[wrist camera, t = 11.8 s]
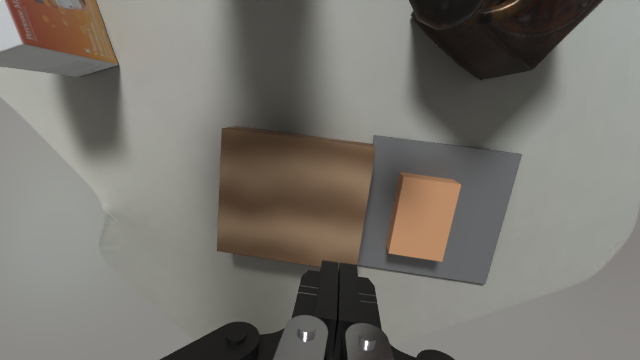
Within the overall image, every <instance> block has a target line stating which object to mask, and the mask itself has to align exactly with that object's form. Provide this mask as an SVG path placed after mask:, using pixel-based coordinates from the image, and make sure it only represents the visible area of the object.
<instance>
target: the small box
mask: <svg viewBox="0 0 640 360" xmlns="http://www.w3.org/2000/svg"><path fill="white" fill-rule="evenodd" d="M117 65H118V62H117V60H116V57H115V55H114V52H113V49H112V47H111V44H110V41H109V38H108V35H107V32H106V29H105V26H104V23H103V20H102V17H101V14H100V11H99V9H98V6H97V2H96V0H0V67H8V68H16V69H24V70H31V71H39V72H46V73H53V74H60V75H67V76H74V77H79V76H83V75H86V74H90V73H93V72H97V71H100V70H103V69H107V68H110V67H114V66H117Z"/></svg>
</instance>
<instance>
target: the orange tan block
mask: <svg viewBox="0 0 640 360" xmlns="http://www.w3.org/2000/svg"><path fill="white" fill-rule="evenodd" d="M460 188H461V184H460V183H458V182H456V181H455V180H453V179H446V178H439V177H432V176H425V175H418V174H410V173H403V172H400V174H399V179H398V185H397V190H396V195H395V200H394V205H393V210H392V215H391V221H390V226H389V231H388V236H387V241H386V246H387V250H388V253H389V254H396V255H402V256H408V257H415V258H421V259H428V260H434V261H440V262H442V261H443V257H444V253H445V249H446V244H447V240H448V236H449V232H450V228H451V224H452V220H453V216H454V212H455V208H456V204H457V200H458V196H459V192H460Z"/></svg>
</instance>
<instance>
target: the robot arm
mask: <svg viewBox="0 0 640 360" xmlns="http://www.w3.org/2000/svg"><path fill="white" fill-rule="evenodd" d="M338 265H339V271H338ZM331 358H332V360H454V359H453V358H452V357H450V356H449V355H447V354H445V353H443V352H440V351H437V350H424V351H421V352H420V353H419V354H418V355H417V357H416V358H415V357H413V356H410V355H408V354H405V353H403V352H401V351H399V350H397V349H395V348H394V347H393V346H391V345H390V343H389V340H388V338H387V336H386V334H385V333H384V332H383V331H382V329H381V323H380V317H379V311H378V305H377V299H376V293H375V287H374V285H373V284H372V282H371V281H370V280H369V279H368V278H364V277H358V273H357V265H356V264H348V263H341V262H340V264H339V262H333V261H325V260H322V264H321V271H320V272H318V271H310V270H308V271H307V272H306V273H305V274H304V275H303V276H302V278H301V282H300V286H299V290H298V294H297V299H296V303H295V307H294V311H293V315H292V319H291V320H289V321H288V323H287V324H286V326H285V328H284V329H282V330H280V331H278V332H275V333H271V334H263V335H259V332H258V330H257V329H256V327H254V326H253V325H251V324H249V323H246V322H232V323H229V324H226V325H224V326H222V327H220V328H218V329H217V330H215V331H213V332H211V333H209V334H207V335H205V336H203V337H201V338H200V339H198V340H196V341H194V342H192V343H190V344H189V345H186V346H185V347H183V348H181V349H179V350H177V351H175V352H173V353H171V354H170V355H168V356H166V357H164V358H162V359H160V360H331Z"/></svg>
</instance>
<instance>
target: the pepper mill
mask: <svg viewBox="0 0 640 360" xmlns="http://www.w3.org/2000/svg"><path fill="white" fill-rule="evenodd" d="M602 1H603V0H409V2H410V4H411V6H412V8H413V10H414V11H413V12H412V14H411V16H412V17H413V18H414V19H415V21H416V22H417V23H418V24H419V26H420V27H421V28H422V29H423V31H424V32H425V33H426V34H427V35H428V36H429V37H430V38H431V39H432V40H433V41H434V42H435V43H436V44H437V45H438V46H439V47H440V48H441V49H442V50H443V51H444V52H445V53H447V54H448V55H449V56H450V57H451V58H452V59H453V60H454V61H455V62H456V63H457V64H458V65H459V66H461V67H462V68H464V69H465V70H467V71H468V72H470V73H471V74H473V75H474V76H476V77H477V78H478V79H480V80H482V79H487V78H493V77H499V76H504V75H509V74H515V73H520V72H525V71H530V70H532V69H534V68H535V67H536V66H537V65H538V64H539V63H540V62H541V61H542V60H543V59H544V58H545V57H546V56H547V55H548V54H549V53H550V52H551V51H552V50H553V49H554V48H555V47H556V46H557V45H558V44H559V43H560V42H561V41H562V40H563V39H564V38H565V37H566V36H567V35H568V34H569V33H570V32H571V31H572V30H573V29H574V28H575V27H576V26H577V25H578V24H579V23H580V22H581V21H583V20H584V19H585V18H586V17H587V16H588V15H589V14H590V13H591V12H592V11H593V10H594V9H595V8H596V7H597V6H598V5H599V4H600V3H601V2H602Z"/></svg>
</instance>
